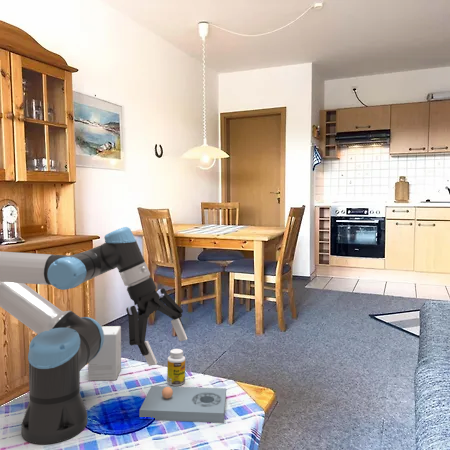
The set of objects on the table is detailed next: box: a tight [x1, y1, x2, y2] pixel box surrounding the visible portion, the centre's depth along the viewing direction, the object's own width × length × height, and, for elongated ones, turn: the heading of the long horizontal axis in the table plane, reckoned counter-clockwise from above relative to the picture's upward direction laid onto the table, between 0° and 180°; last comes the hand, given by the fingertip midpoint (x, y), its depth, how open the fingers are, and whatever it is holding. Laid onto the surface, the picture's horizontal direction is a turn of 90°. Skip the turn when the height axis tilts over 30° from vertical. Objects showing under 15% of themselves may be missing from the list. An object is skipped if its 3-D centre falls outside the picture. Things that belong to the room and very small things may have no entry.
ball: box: [162, 387, 173, 399], centre depth 112 cm, size 3×3×3 cm
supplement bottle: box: [166, 348, 186, 387], centre depth 127 cm, size 6×6×10 cm
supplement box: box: [87, 325, 122, 381], centre depth 132 cm, size 9×9×15 cm
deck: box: [138, 385, 227, 424], centre depth 112 cm, size 22×14×2 cm, turn 87°
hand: (169, 351), depth 113 cm, fingers open, 13 cm apart
